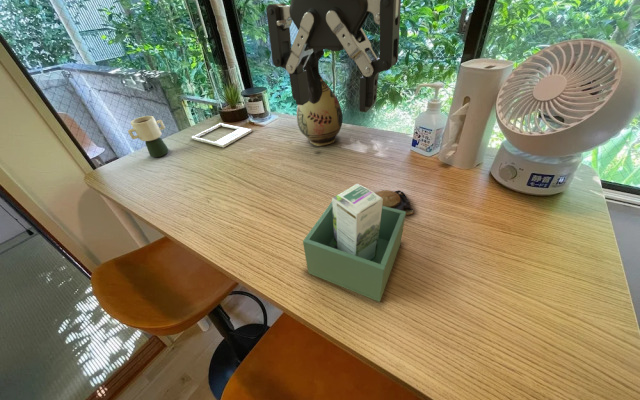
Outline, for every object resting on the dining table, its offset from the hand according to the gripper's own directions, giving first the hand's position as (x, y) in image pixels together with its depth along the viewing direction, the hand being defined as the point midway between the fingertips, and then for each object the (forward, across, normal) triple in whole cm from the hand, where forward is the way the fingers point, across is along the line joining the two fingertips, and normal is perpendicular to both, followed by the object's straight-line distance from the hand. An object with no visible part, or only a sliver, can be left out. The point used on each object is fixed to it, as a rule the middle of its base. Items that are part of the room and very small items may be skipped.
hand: (332, 106), depth 31 cm
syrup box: (+29, +3, +1) cm, 29 cm away
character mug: (+29, -78, +15) cm, 85 cm away
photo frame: (+29, -67, +36) cm, 82 cm away
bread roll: (+29, +4, +18) cm, 35 cm away
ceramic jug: (+29, -28, +44) cm, 59 cm away
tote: (+29, +3, +1) cm, 29 cm away
